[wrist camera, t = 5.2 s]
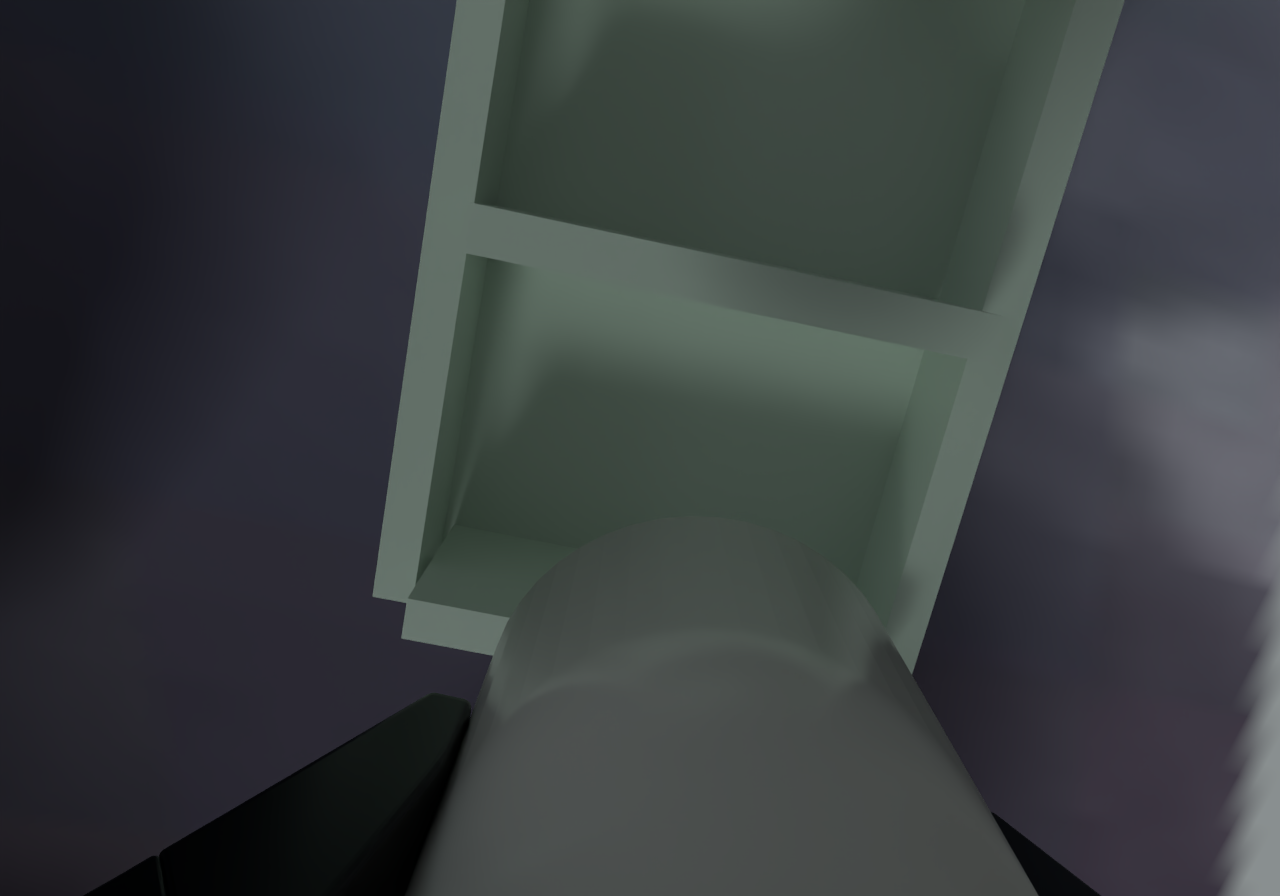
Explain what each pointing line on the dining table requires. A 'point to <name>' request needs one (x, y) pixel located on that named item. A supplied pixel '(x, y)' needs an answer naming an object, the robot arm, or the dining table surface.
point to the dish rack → (723, 282)
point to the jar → (706, 738)
